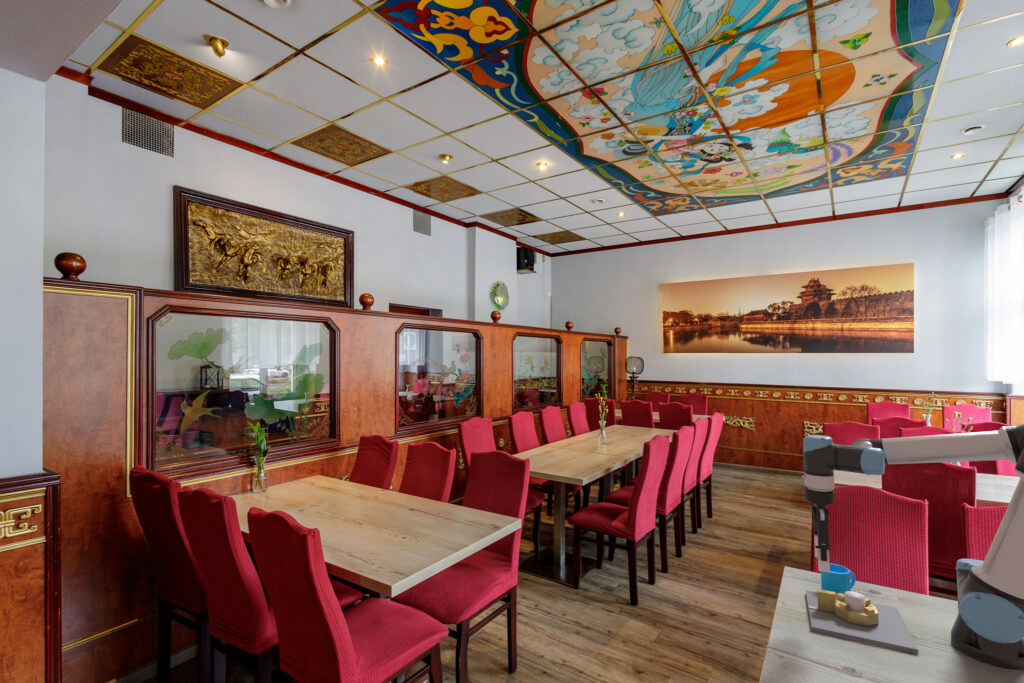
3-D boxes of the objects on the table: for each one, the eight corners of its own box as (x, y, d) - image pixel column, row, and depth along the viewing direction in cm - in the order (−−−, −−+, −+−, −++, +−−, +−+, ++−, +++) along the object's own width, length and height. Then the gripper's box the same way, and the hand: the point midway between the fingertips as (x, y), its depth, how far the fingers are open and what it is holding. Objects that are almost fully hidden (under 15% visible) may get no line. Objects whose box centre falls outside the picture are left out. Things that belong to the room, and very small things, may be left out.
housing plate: (896, 611, 148) (895, 586, 148) (918, 654, 127) (917, 625, 127) (805, 594, 159) (805, 571, 159) (811, 631, 138) (810, 604, 138)
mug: (836, 600, 155) (835, 575, 155) (815, 589, 163) (814, 564, 163) (866, 596, 157) (865, 571, 158) (844, 584, 165) (843, 560, 166)
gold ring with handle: (873, 611, 145) (872, 593, 145) (880, 628, 136) (880, 609, 136) (816, 600, 152) (815, 583, 152) (819, 616, 143) (818, 597, 143)
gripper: (802, 478, 154) (804, 548, 153) (807, 496, 134) (810, 577, 134) (829, 480, 151) (832, 552, 150) (839, 499, 131) (842, 582, 130)
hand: (822, 564), depth 142 cm, fingers open, 10 cm apart
